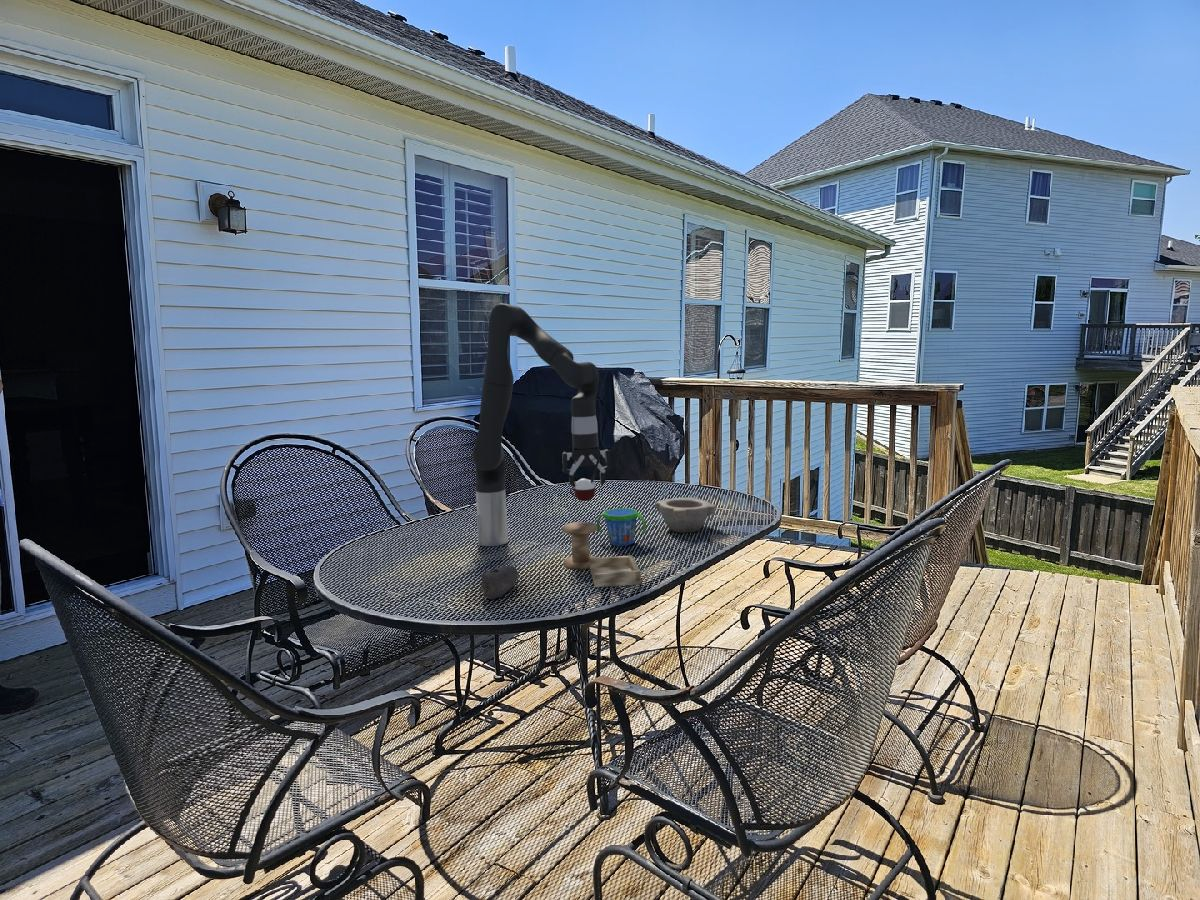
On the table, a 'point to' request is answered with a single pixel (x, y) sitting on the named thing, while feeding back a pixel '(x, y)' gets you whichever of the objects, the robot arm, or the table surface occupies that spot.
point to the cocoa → (585, 487)
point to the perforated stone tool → (498, 581)
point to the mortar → (685, 513)
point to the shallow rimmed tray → (614, 571)
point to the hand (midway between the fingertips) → (587, 486)
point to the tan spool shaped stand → (579, 544)
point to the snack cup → (621, 525)
